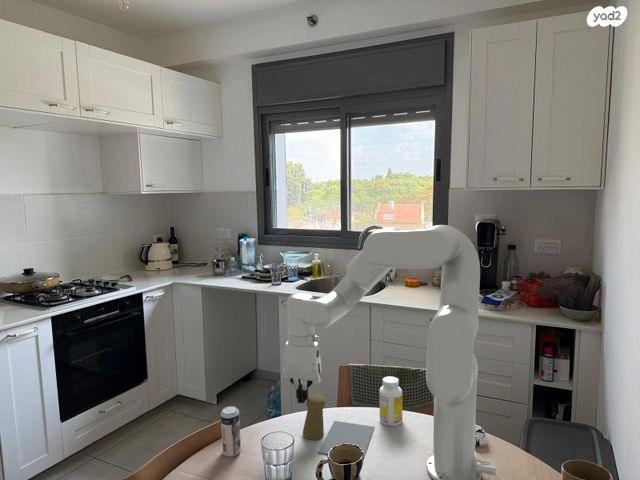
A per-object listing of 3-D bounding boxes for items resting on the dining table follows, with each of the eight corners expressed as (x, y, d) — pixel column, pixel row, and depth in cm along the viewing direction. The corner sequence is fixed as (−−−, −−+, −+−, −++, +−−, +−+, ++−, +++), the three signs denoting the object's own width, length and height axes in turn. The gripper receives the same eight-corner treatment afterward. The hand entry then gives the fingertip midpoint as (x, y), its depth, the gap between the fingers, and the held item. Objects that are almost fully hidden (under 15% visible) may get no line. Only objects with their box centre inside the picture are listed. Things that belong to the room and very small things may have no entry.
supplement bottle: (402, 416, 130) (402, 375, 128) (402, 428, 123) (401, 385, 122) (380, 414, 131) (380, 373, 130) (378, 425, 125) (378, 383, 123)
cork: (321, 441, 118) (324, 404, 116) (300, 437, 119) (303, 400, 117) (325, 429, 124) (328, 393, 122) (305, 425, 125) (308, 390, 123)
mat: (374, 427, 124) (374, 426, 124) (362, 461, 109) (362, 460, 109) (334, 421, 128) (334, 420, 127) (317, 453, 112) (317, 452, 112)
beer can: (239, 457, 111) (237, 413, 110) (221, 458, 111) (219, 415, 110) (242, 446, 116) (240, 404, 115) (224, 447, 116) (222, 405, 114)
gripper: (331, 336, 120) (331, 398, 122) (281, 331, 125) (282, 391, 127) (322, 346, 113) (323, 411, 115) (271, 340, 118) (272, 403, 120)
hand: (302, 400), depth 121 cm, fingers closed
